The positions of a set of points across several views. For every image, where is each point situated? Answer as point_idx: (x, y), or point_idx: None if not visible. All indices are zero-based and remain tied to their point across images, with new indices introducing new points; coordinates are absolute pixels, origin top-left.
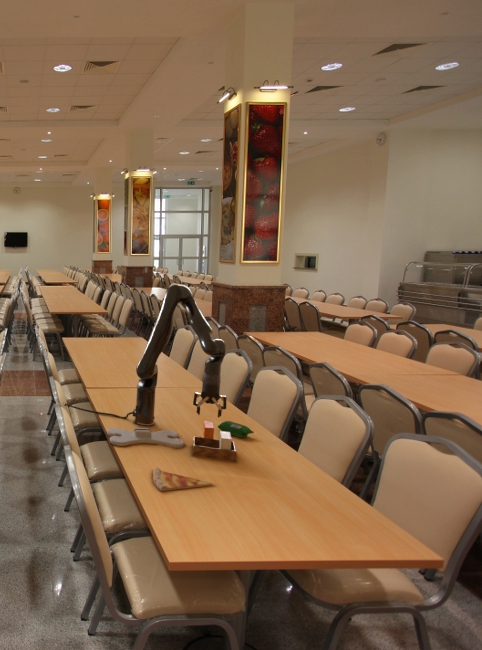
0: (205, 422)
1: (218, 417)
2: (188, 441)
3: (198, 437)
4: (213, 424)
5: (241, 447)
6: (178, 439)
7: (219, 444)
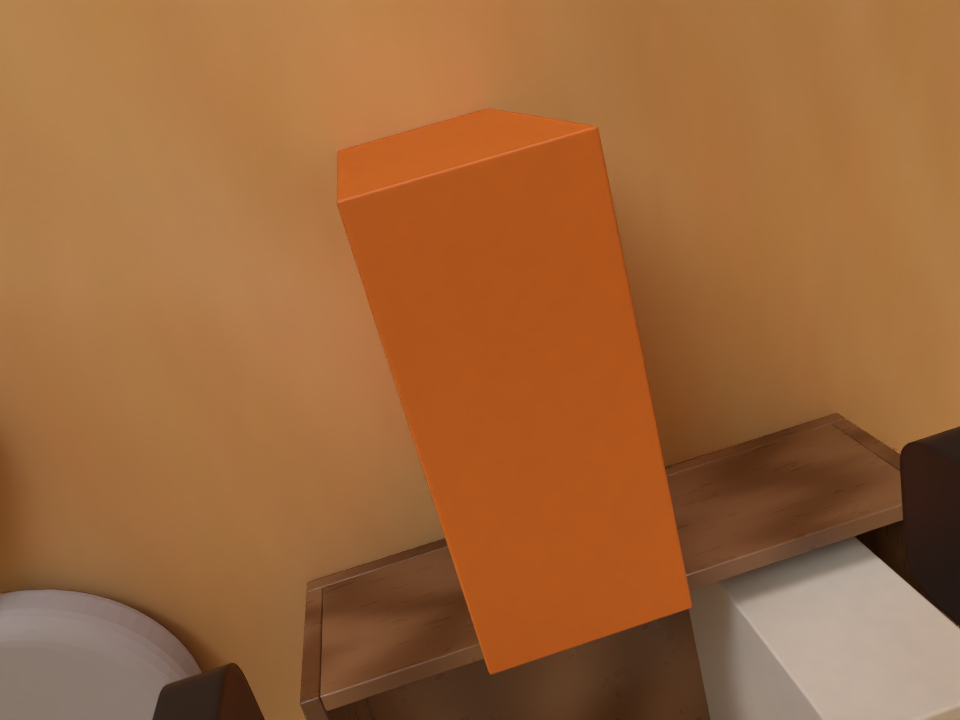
0: (412, 323)
1: (928, 557)
2: (171, 435)
3: (393, 684)
4: (640, 347)
5: (946, 145)
6: (58, 675)
7: (723, 619)
